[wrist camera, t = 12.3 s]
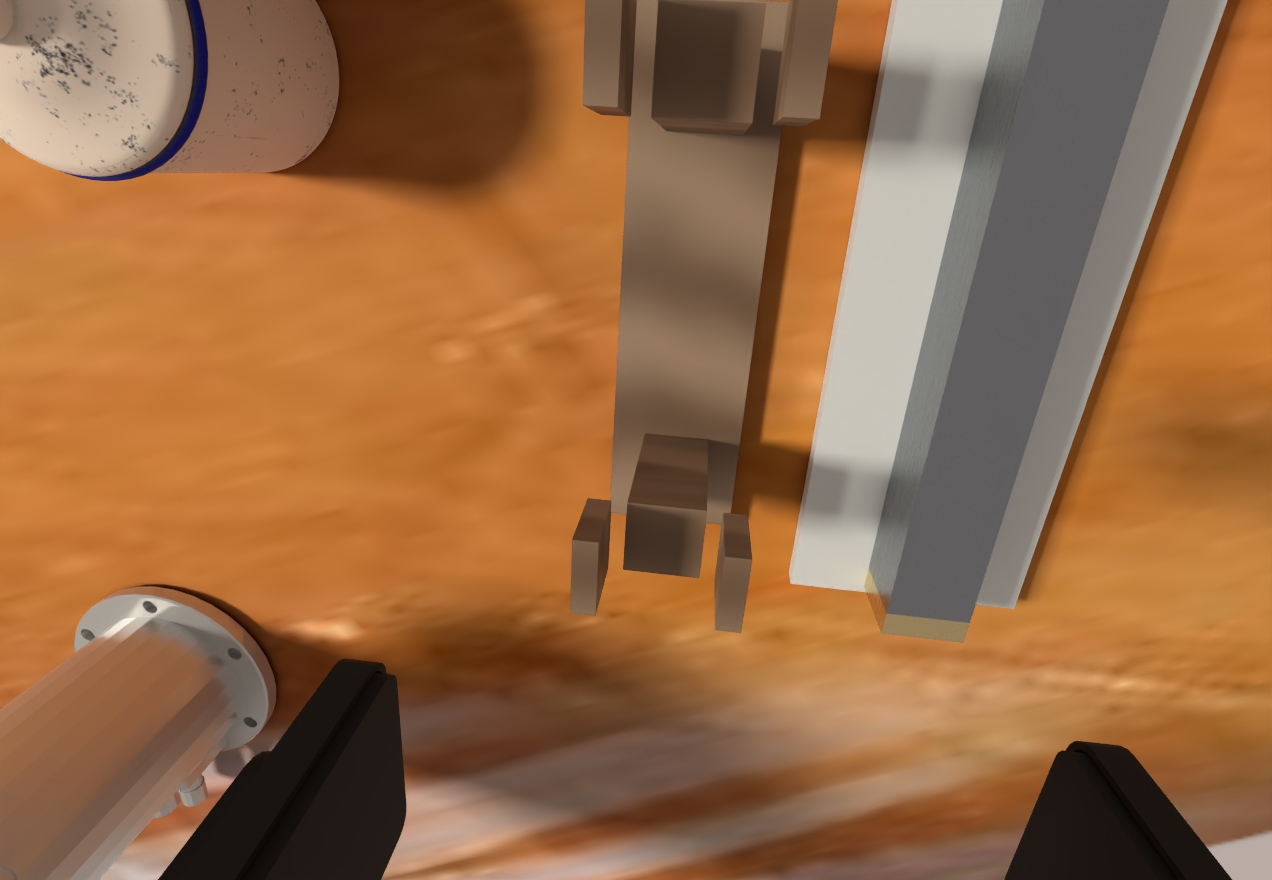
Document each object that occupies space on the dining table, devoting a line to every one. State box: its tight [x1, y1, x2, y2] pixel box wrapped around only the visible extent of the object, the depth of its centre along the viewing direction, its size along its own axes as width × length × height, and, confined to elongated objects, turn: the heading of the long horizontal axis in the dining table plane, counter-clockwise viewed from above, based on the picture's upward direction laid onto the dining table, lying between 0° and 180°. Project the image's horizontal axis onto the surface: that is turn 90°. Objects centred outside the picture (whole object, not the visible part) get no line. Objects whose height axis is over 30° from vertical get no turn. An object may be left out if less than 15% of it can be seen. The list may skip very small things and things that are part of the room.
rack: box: [570, 0, 838, 633], centre depth 24 cm, size 22×6×11 cm, turn 177°
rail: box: [864, 0, 1170, 643], centre depth 26 cm, size 27×4×4 cm, turn 177°
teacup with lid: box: [0, 0, 339, 181], centre depth 22 cm, size 12×9×12 cm
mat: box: [789, 0, 1228, 609], centre depth 28 cm, size 28×11×1 cm, turn 177°
